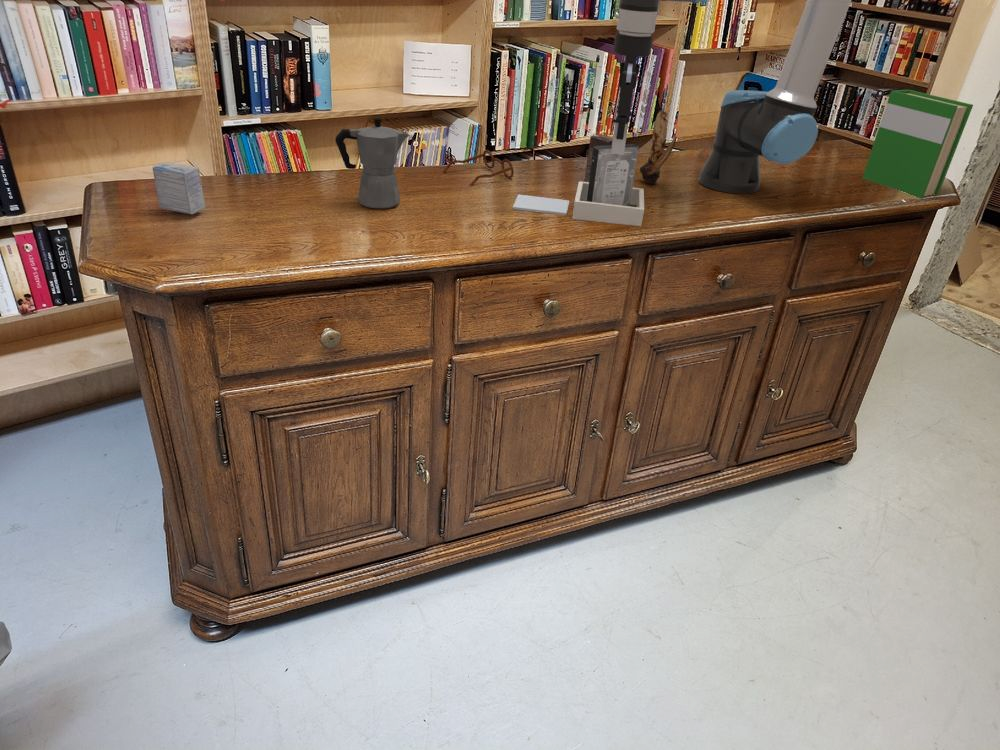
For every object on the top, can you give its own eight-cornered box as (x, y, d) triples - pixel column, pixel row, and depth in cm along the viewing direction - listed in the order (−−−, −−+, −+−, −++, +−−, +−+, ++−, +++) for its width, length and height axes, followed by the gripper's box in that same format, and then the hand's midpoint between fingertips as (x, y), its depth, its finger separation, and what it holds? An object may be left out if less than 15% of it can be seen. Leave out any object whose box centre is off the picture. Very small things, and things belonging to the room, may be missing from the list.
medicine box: (206, 209, 152) (199, 167, 148) (191, 215, 149) (184, 172, 144) (173, 202, 154) (167, 160, 150) (158, 208, 151) (151, 166, 146)
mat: (569, 202, 172) (569, 200, 171) (566, 215, 164) (566, 213, 164) (518, 196, 173) (518, 194, 172) (512, 209, 165) (512, 206, 165)
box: (612, 189, 183) (620, 139, 176) (600, 191, 180) (607, 141, 174) (595, 182, 186) (602, 133, 180) (582, 184, 184) (589, 135, 178)
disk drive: (590, 216, 165) (599, 148, 157) (584, 211, 167) (592, 145, 159) (629, 212, 169) (640, 146, 161) (623, 208, 171) (633, 143, 163)
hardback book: (936, 200, 194) (973, 104, 181) (919, 203, 190) (955, 106, 178) (877, 180, 206) (908, 89, 194) (860, 182, 203) (891, 90, 190)
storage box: (640, 205, 173) (643, 188, 171) (641, 227, 161) (644, 209, 159) (576, 197, 175) (578, 181, 173) (572, 219, 162) (574, 201, 160)
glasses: (514, 181, 184) (515, 161, 181) (469, 188, 177) (470, 167, 174) (485, 167, 193) (486, 147, 190) (441, 172, 186) (442, 152, 183)
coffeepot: (404, 193, 169) (405, 112, 159) (412, 208, 161) (413, 123, 152) (336, 195, 165) (331, 111, 155) (341, 210, 157) (337, 123, 148)
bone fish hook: (667, 192, 184) (682, 117, 174) (650, 192, 182) (663, 117, 173) (652, 180, 191) (664, 108, 182) (635, 180, 190) (647, 107, 180)
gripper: (616, 26, 156) (601, 138, 169) (614, 37, 141) (598, 159, 153) (652, 29, 155) (635, 141, 168) (654, 40, 140) (635, 163, 153)
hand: (617, 150), depth 160 cm, fingers open, 5 cm apart
